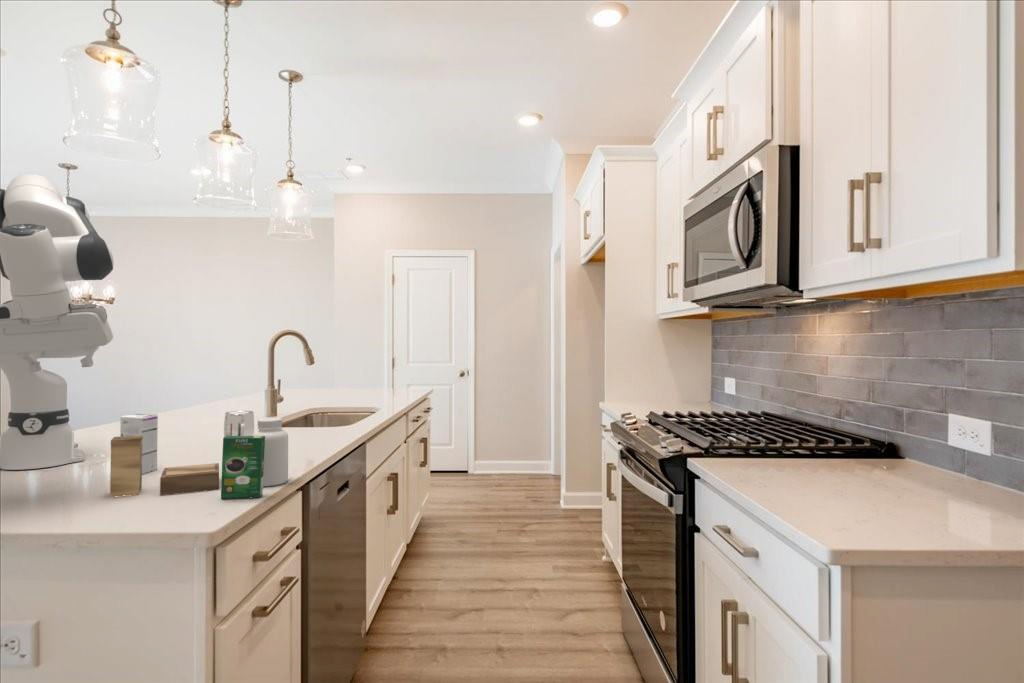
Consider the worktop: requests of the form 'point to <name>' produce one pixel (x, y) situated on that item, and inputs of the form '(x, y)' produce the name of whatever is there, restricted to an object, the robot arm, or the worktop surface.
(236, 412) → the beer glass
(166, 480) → the walnut base
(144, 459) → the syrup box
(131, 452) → the oak block
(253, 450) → the coffee box
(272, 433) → the pill bottle
